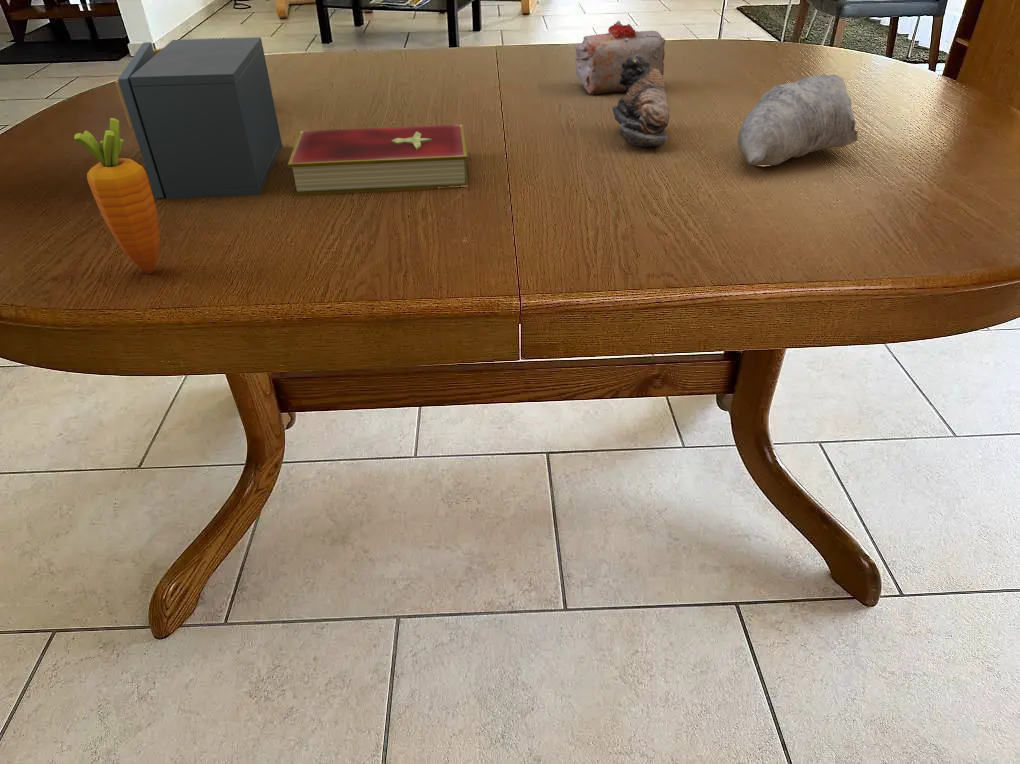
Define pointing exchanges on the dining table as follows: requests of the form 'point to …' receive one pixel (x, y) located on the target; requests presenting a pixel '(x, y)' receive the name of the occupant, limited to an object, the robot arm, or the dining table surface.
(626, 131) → the bison figurine
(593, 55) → the food item
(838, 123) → the seashell
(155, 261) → the carrot
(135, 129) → the door
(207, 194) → the cupboard
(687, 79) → the dining table surface
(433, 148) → the hardcover book
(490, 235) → the dining table surface
